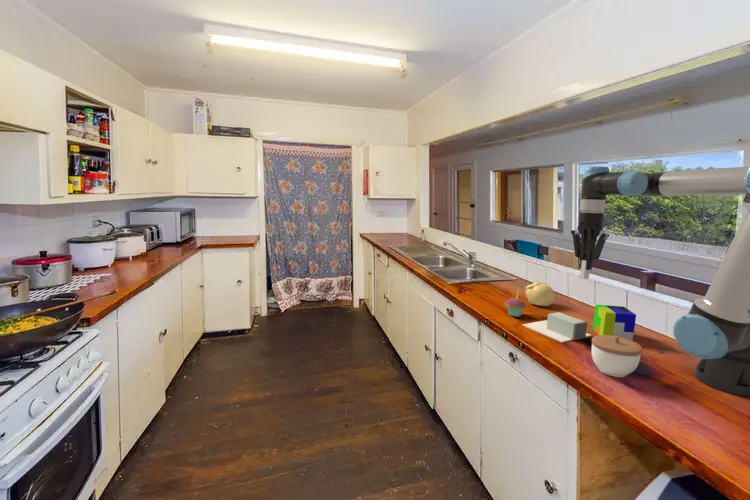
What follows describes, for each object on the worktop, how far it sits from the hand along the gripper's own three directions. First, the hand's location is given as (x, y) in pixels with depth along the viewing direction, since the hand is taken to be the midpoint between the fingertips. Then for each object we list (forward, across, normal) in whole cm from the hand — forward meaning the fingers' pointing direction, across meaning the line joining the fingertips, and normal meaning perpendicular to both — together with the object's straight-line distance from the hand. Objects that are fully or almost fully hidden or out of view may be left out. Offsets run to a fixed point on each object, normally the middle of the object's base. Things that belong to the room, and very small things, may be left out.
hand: (584, 278), depth 135 cm
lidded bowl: (+23, -21, +14) cm, 35 cm away
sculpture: (+22, +35, -21) cm, 47 cm away
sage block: (+19, -2, +1) cm, 19 cm away
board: (+23, +8, +1) cm, 24 cm away
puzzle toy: (+23, -3, -16) cm, 28 cm away
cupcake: (+23, +28, +2) cm, 36 cm away
